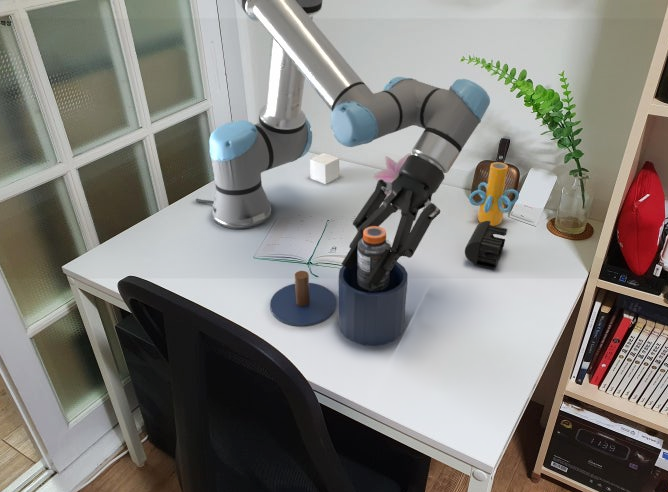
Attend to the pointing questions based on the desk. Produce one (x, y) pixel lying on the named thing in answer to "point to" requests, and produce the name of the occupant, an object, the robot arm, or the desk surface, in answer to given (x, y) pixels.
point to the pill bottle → (371, 257)
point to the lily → (390, 170)
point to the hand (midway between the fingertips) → (358, 275)
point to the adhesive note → (324, 168)
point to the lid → (303, 302)
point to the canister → (372, 308)
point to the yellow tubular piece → (494, 195)
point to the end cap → (485, 245)
